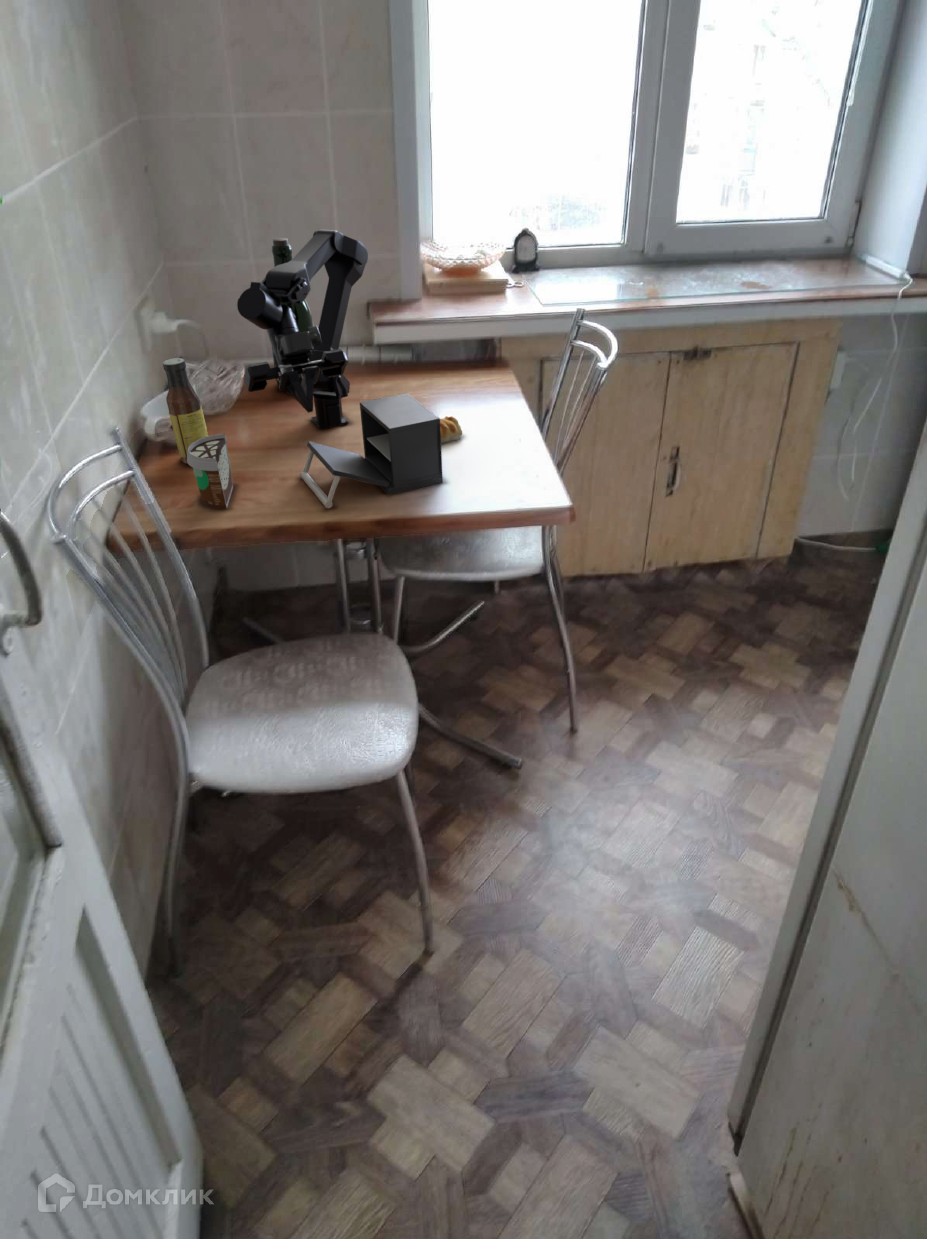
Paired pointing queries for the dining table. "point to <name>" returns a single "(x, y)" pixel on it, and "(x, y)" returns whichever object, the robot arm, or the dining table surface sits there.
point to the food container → (212, 470)
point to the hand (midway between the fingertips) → (310, 411)
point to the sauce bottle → (183, 407)
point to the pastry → (449, 429)
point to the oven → (402, 442)
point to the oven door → (340, 469)
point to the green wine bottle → (301, 311)
